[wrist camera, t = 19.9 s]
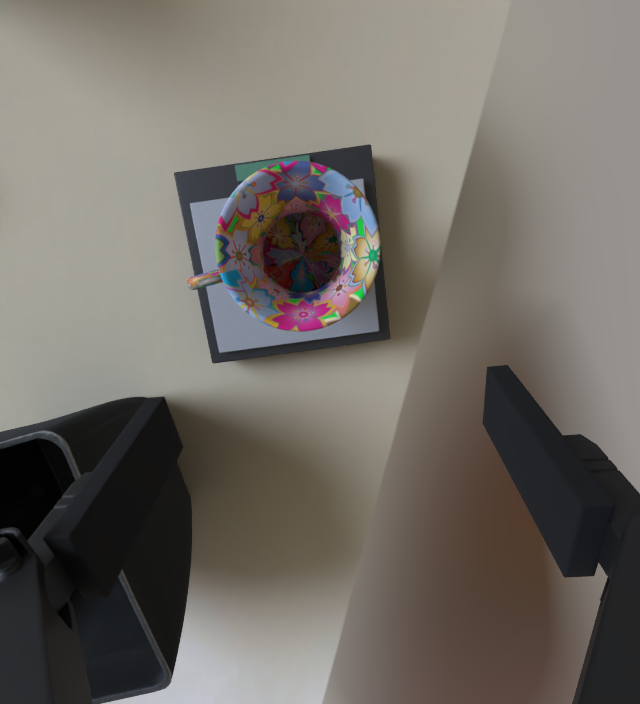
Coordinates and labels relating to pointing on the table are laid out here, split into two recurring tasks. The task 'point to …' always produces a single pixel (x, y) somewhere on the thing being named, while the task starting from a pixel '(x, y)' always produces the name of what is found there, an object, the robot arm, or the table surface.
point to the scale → (216, 302)
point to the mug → (295, 246)
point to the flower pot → (141, 565)
